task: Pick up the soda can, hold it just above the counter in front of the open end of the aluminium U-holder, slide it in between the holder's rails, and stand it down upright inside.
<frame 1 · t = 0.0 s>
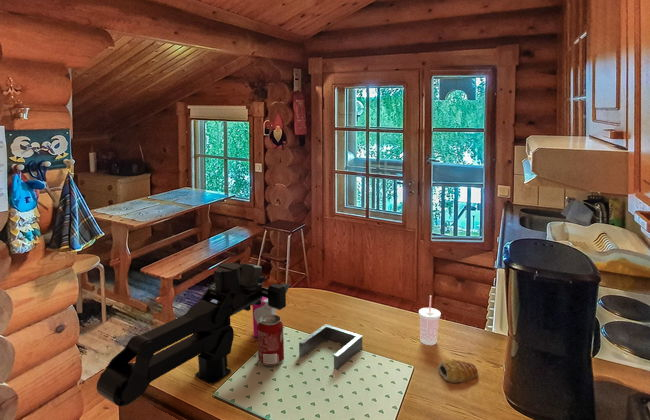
hand: (276, 281, 128), 17 cm above the kitchen counter, tool horizontal, fingers open, 9 cm apart
pastry: (455, 376, 111), on the kitchen counter
beverage cup: (428, 341, 127), on the kitchen counter
supplement box: (265, 334, 131), on the kitchen counter
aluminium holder: (332, 351, 122), on the kitchen counter
soda can: (271, 361, 117), on the kitchen counter
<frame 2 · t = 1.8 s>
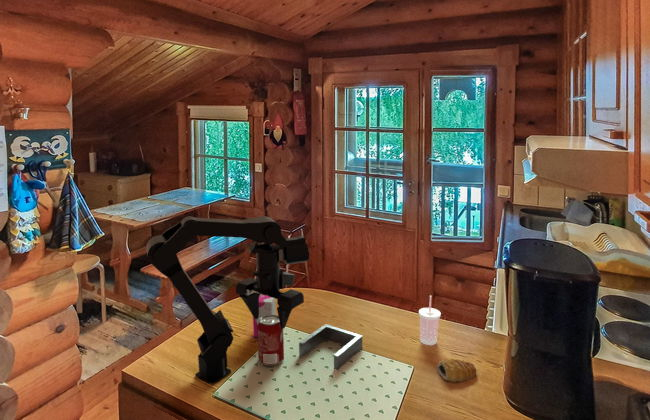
hand: (269, 323, 115), 11 cm above the kitchen counter, tool pointing down, fingers open, 9 cm apart
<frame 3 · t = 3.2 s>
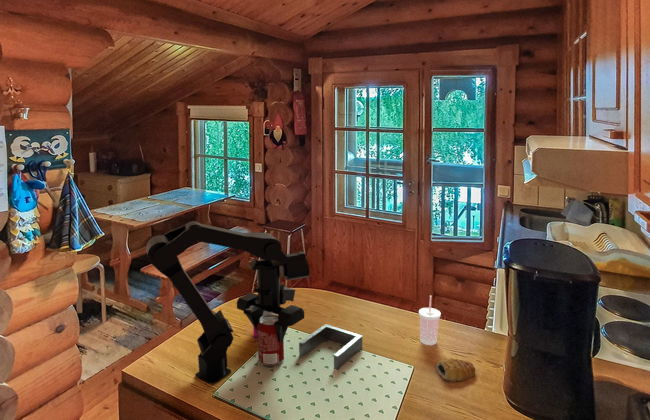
hand: (270, 338, 116), 7 cm above the kitchen counter, tool pointing down, fingers closed on soda can, 7 cm apart
soda can: (271, 361, 117), on the kitchen counter, touching gripper
everything else where it was.
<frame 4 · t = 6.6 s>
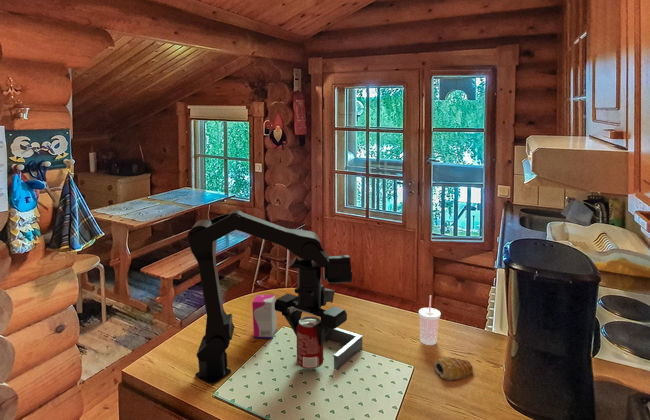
hand: (309, 341, 111), 8 cm above the kitchen counter, tool pointing down, fingers closed on soda can, 7 cm apart
soda can: (310, 364, 113), point 1 cm above the kitchen counter, touching gripper
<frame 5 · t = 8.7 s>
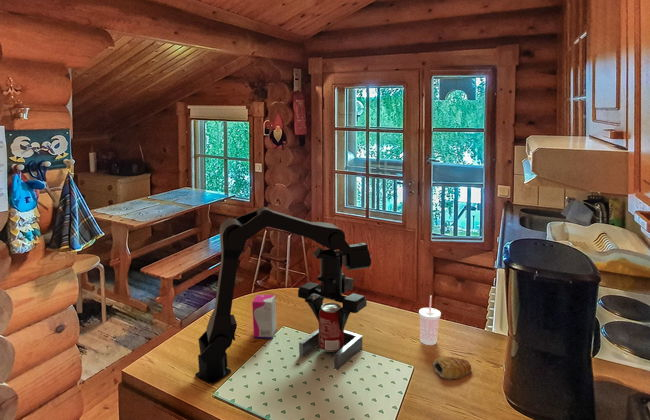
hand: (331, 325, 119), 8 cm above the kitchen counter, tool pointing down, fingers closed on soda can, 7 cm apart
soda can: (331, 348, 121), point 1 cm above the kitchen counter, touching gripper
when the fingers open (7 cm above the kitchen counter, at t = 10.4 s): soda can stays where it is, resting in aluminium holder.
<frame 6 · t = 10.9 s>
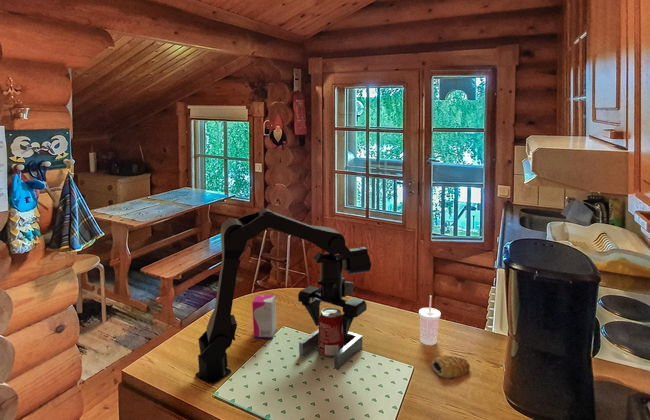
hand: (331, 329, 120), 7 cm above the kitchen counter, tool pointing down, fingers open, 9 cm apart
soda can: (331, 352, 121), resting in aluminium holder
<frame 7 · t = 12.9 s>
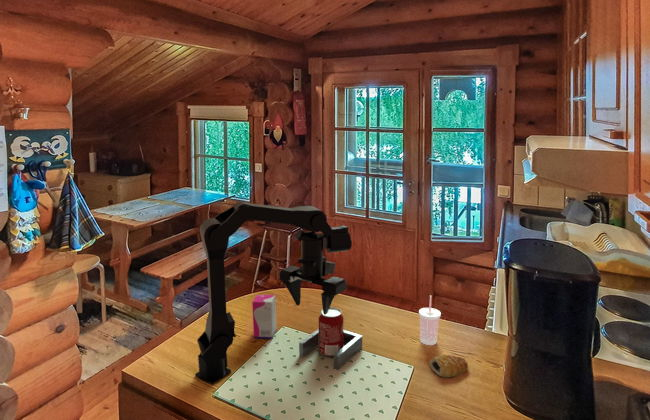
hand: (311, 309, 119), 12 cm above the kitchen counter, tool pointing down, fingers open, 9 cm apart
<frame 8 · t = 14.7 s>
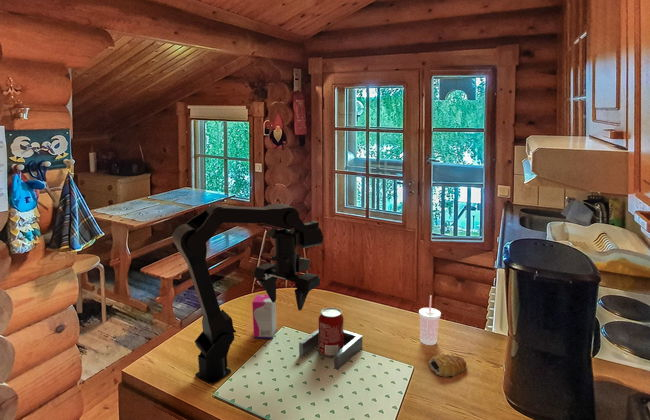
hand: (286, 305, 120), 13 cm above the kitchen counter, tool pointing down, fingers open, 9 cm apart
at the end: soda can 0.5 cm off-centre on the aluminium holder, point 0.0 cm above the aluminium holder's base; soda can tilted 0°; the gripper is holding nothing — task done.
